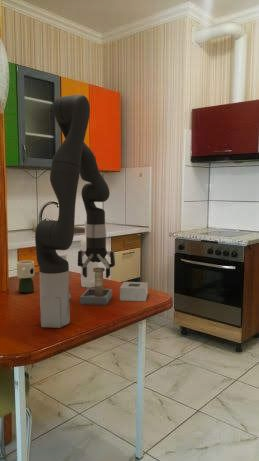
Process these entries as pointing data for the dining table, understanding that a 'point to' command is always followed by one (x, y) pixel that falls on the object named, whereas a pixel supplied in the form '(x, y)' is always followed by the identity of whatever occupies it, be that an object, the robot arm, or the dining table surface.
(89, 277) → the bottle
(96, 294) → the pin
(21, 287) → the character mug
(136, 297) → the hitch block
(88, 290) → the tray
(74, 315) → the dining table surface
